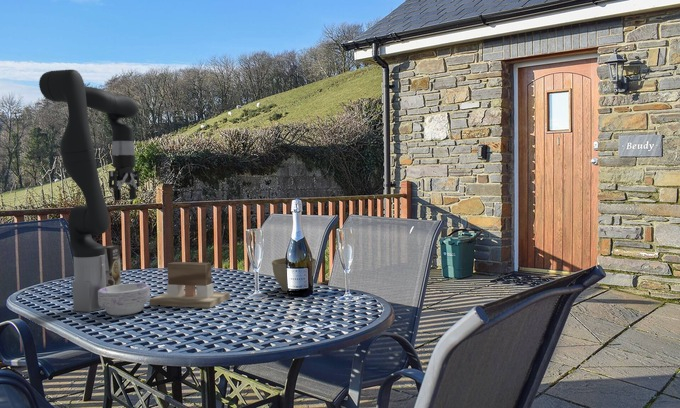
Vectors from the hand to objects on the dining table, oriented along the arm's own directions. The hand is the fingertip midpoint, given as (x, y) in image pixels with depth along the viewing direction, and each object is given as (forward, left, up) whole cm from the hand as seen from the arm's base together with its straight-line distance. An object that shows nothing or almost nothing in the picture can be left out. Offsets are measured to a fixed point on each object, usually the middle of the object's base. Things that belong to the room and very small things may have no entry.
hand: (125, 199), depth 199 cm
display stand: (-7, -29, -34) cm, 45 cm away
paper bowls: (-24, -16, -34) cm, 45 cm away
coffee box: (+7, +14, -34) cm, 38 cm away
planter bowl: (+18, -57, -34) cm, 69 cm away
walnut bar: (-7, -29, -28) cm, 41 cm away
